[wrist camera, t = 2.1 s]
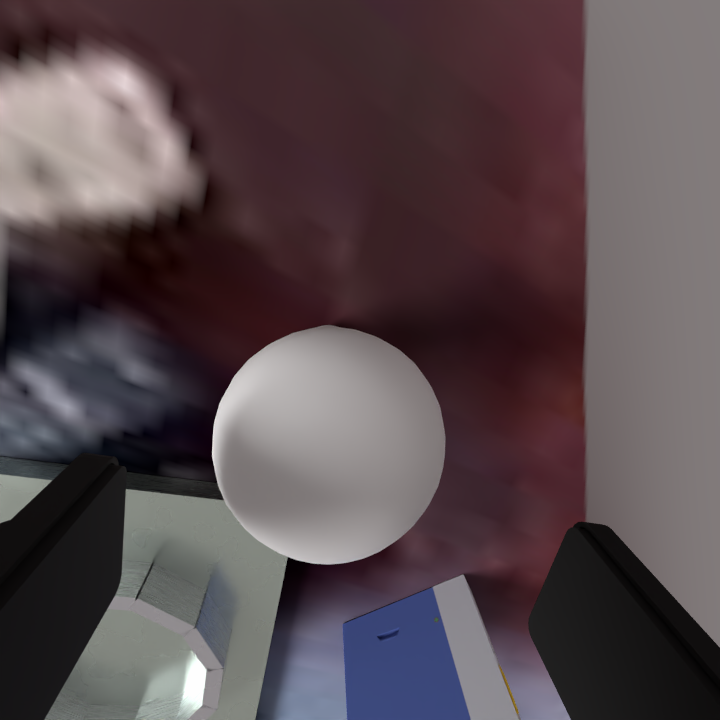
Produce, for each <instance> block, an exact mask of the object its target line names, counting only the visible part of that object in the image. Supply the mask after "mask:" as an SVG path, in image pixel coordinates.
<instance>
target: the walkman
mask: <svg viewBox="0 0 720 720" xmlns="http://www.w3.org/2000/svg"><path fill="white" fill-rule="evenodd" d="M343 641H344V662H345V683H346V704H347V720H521V719H520V716H519V714H518V713H519V712H518V709H517V706H516V704H515V701H514V698H513V696H512V693H511V691H510V688H509V685H508V683H507V680H506V678H505V675H504V673H503V671H502V669H501V667H500V664H499V662H498V659H497V657H496V654H495V651H494V649H493V646H492V644H491V641H490V638H489V636H488V633H487V631H486V628H485V625H484V623H483V620H482V618H481V615H480V612H479V610H478V607H477V605H476V602H475V599H474V597H473V594H472V592H471V589H470V587H469V585H468V583H467V581H466V579H465V577H464V575H460V576H458V577H455V578H453V579H450V580H448V581H445V582H443V583H441V584H438V585H436V586H433V587H432V588H429V589H427V590H424V591H422V592H420V593H417V594H415V595H412V596H410V597H407V598H405V599H403V600H400V601H398V602H395V603H393V604H390V605H388V606H385V607H383V608H381V609H378V610H376V611H373V612H371V613H368V614H366V615H364V616H361V617H359V618H356V619H354V620H351V621H349V622H347V623H344V624H343Z"/></svg>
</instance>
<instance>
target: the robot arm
mask: <svg viewBox="0 0 720 720" xmlns="http://www.w3.org/2000/svg"><path fill="white" fill-rule="evenodd" d="M126 478H127V470H126V467H124V466H118V460H117V458H115V457H110V456H103V455H96V454H89V453H83V454H81V455H79V456H78V457H77V458H76V459H75V460H74V461H73V462H72V463H70V464H69V465H68V466H67V467H66V468H65V469H64V470H63V471H62V472H61V473H60V474H59V475H58V476H57V477H56V478H55V479H53V480H52V481H51V482H50V483H49V484H48V485H47V486H46V487H45V488H44V489H43V490H42V491H41V492H40V493H39V494H38V495H36V496H35V497H34V498H33V499H32V500H31V501H30V502H29V503H28V504H27V505H26V506H25V507H24V508H23V509H22V510H20V511H19V512H18V513H17V514H16V515H15V516H14V517H13V518H12V519H11V520H8V521H5V522H2V523H0V720H44V719H45V718H46V716H47V714H48V712H49V711H50V709H51V707H52V705H53V704H54V702H55V700H56V698H57V697H58V695H59V693H60V691H61V690H62V688H63V686H64V684H65V683H66V681H67V679H68V677H69V676H70V674H71V672H72V670H73V669H74V667H75V665H76V663H77V662H78V660H79V658H80V656H81V654H82V653H83V651H84V649H85V647H86V646H87V644H88V642H89V640H90V639H91V637H92V635H93V633H94V632H95V630H96V628H97V626H98V625H99V623H100V621H101V619H102V618H103V616H104V614H105V612H106V611H107V609H108V607H109V605H110V604H111V602H112V600H113V598H114V596H115V594H116V592H117V590H118V587H119V584H120V581H121V575H122V557H123V538H124V518H125V498H126ZM528 625H529V632H530V635H531V638H532V640H533V642H534V644H535V646H536V648H537V650H538V652H539V654H540V656H541V659H542V661H543V663H544V665H545V667H546V669H547V671H548V673H549V675H550V677H551V679H552V681H553V683H554V685H555V687H556V689H557V692H558V694H559V696H560V698H561V700H562V702H563V704H564V706H565V708H566V710H567V712H568V714H569V716H570V718H571V720H720V647H718V645H717V644H716V643H715V642H714V641H713V640H712V639H711V638H710V637H709V635H708V634H707V633H706V632H705V631H704V630H703V629H702V628H701V627H700V626H699V624H698V623H697V622H696V621H695V620H694V619H693V618H692V617H691V616H690V615H689V614H688V612H687V611H686V610H685V609H684V608H683V607H682V606H681V605H680V604H679V603H678V602H677V600H676V599H675V598H674V597H673V596H672V595H671V594H670V593H669V592H668V591H667V590H666V588H665V587H664V586H663V585H662V584H661V583H660V582H659V581H658V580H657V578H656V577H655V576H654V575H653V574H652V573H651V572H650V571H649V570H648V569H647V568H646V566H644V564H643V563H642V562H641V561H640V560H639V559H638V558H637V557H636V556H635V555H634V554H633V552H632V551H631V550H630V549H629V548H628V547H627V546H626V545H625V544H624V542H623V541H622V540H621V539H620V538H619V537H618V536H617V535H616V534H615V533H614V531H613V530H612V529H610V528H609V527H608V526H606V525H602V524H594V523H587V522H578V523H576V524H575V525H574V526H573V528H570V529H568V531H567V532H566V534H565V537H564V539H563V541H562V543H561V546H560V548H559V550H558V553H557V555H556V557H555V559H554V562H553V564H552V566H551V569H550V571H549V573H548V576H547V578H546V580H545V582H544V585H543V587H542V589H541V592H540V594H539V596H538V598H537V601H536V603H535V605H534V608H533V610H532V612H531V614H530V617H529V623H528Z"/></svg>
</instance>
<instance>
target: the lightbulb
mask: <svg viewBox="0 0 720 720" xmlns="http://www.w3.org/2000/svg"><path fill="white" fill-rule="evenodd" d="M444 457H445V432H444V425H443V420H442V415H441V409H440V406H439V403H438V401H437V399H436V396H435V394H434V392H433V390H432V388H431V386H430V384H429V383H428V381H427V379H426V378H425V377H424V375H423V374H422V373H421V371H420V370H419V368H418V367H417V366H416V364H415V363H414V362H413V361H411V360H410V359H409V358H408V357H407V356H406V355H405V354H404V353H402V352H401V351H400V350H399V349H397V348H396V347H394V346H392V345H390V344H389V343H387V342H385V341H383V340H382V339H380V338H378V337H376V336H373V335H370V334H367V333H364V332H361V331H358V330H355V329H347V328H340V327H337V326H332V325H323V326H319V327H316V328H311V329H307V330H303V331H299V332H295V333H292V334H290V335H288V336H286V337H283V338H281V339H279V340H277V341H275V342H273V343H271V344H269V345H267V346H266V347H265V348H263V349H262V350H261V351H259V352H258V353H257V354H255V355H254V356H253V357H251V358H250V359H249V360H248V361H247V362H246V363H245V364H244V366H243V367H242V368H241V369H240V370H239V371H238V372H237V374H236V375H235V376H234V378H233V380H232V381H231V383H230V385H229V387H228V389H227V390H226V392H225V394H224V396H223V398H222V400H221V402H220V404H219V407H218V411H217V414H216V418H215V421H214V429H213V446H212V458H213V463H214V468H215V474H216V478H217V483H218V487H219V489H220V491H221V494H222V496H223V498H224V501H225V503H226V505H227V506H228V508H229V509H230V510H231V512H232V513H233V514H234V516H235V517H236V518H237V520H238V521H239V522H240V524H241V525H242V526H243V527H244V529H246V530H247V531H248V532H249V533H250V534H251V535H252V536H253V537H254V538H255V539H257V540H258V541H259V542H261V543H263V544H264V545H266V546H267V547H269V548H271V549H272V550H274V551H276V552H278V553H280V554H282V555H285V556H287V557H290V558H292V559H295V560H299V561H303V562H308V563H314V564H338V563H347V562H351V561H355V560H359V559H363V558H366V557H368V556H370V555H373V554H375V553H377V552H379V551H381V550H383V549H384V548H386V547H387V546H389V545H391V544H392V543H394V542H395V541H396V540H398V539H399V538H400V537H402V536H403V535H404V534H405V533H406V532H407V531H408V530H409V529H410V528H412V527H413V525H414V524H415V523H416V522H417V520H418V519H419V518H420V516H421V515H422V514H423V513H424V511H425V510H426V508H427V506H428V505H429V503H430V501H431V499H432V497H433V495H434V493H435V491H436V489H437V487H438V485H439V481H440V477H441V473H442V469H443V464H444Z"/></svg>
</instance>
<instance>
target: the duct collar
mask: <svg viewBox="0 0 720 720" xmlns="http://www.w3.org/2000/svg"><path fill="white" fill-rule="evenodd" d="M67 466H68V465H65V464H57V463H49V462H41V461H33V460H24V459H16V458H8V457H0V523H2V522H5V521H8V520H11V519H12V518H13V517H14V516H15V515H16V514H17V513H18V512H19V511H20V510H22V509H23V508H24V507H25V506H26V505H27V504H28V503H29V502H30V501H31V500H32V499H33V498H34V497H35V496H36V495H38V494H39V493H40V492H41V491H42V490H43V489H44V488H45V487H46V486H47V485H48V484H49V483H50V482H51V481H52V480H53V479H55V478H56V477H57V476H58V475H59V474H60V473H61V472H62V471H63V470H64V469H65V468H66V467H67ZM287 559H288V557H287V556H285V555H282V554H280V553H278V552H276V551H274V550H272V549H271V548H269V547H267V546H266V545H264V544H263V543H261V542H259V541H258V540H257V539H255V538H254V537H253V536H252V535H251V534H250V533H249V532H248V531H247V530H246V529H244V527H243V526H242V525H241V524H240V522H239V521H238V520H237V518H236V517H235V516H234V514H233V513H232V512H231V510H230V509H229V508H228V506H227V505H226V503H225V501H224V498H223V496H222V494H221V491H220V489H219V487H218V483H212V482H204V481H196V480H187V479H179V478H171V477H163V476H155V475H147V474H139V473H130V472H127V478H126V498H125V518H124V538H123V557H122V575H121V581H120V584H119V587H118V590H117V592H116V594H115V596H114V598H113V600H112V602H111V604H110V605H109V607H108V609H107V611H106V612H105V614H104V616H103V618H102V619H101V621H100V623H99V625H98V626H97V628H96V630H95V632H94V633H93V635H92V637H91V639H90V640H89V642H88V644H87V646H86V647H85V649H84V651H83V653H82V654H81V656H80V658H79V660H78V662H77V663H76V665H75V667H74V669H73V670H72V672H71V674H70V676H69V677H68V679H67V681H66V683H65V684H64V686H63V688H62V690H61V691H60V693H59V695H58V697H57V698H56V700H55V702H54V704H53V705H52V707H51V709H50V711H49V712H48V714H47V716H46V718H45V719H44V720H255V718H256V713H257V708H258V703H259V698H260V693H261V688H262V683H263V678H264V673H265V668H266V663H267V658H268V653H269V648H270V643H271V638H272V633H273V628H274V623H275V618H276V613H277V608H278V603H279V598H280V594H281V589H282V584H283V579H284V574H285V569H286V564H287Z"/></svg>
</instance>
